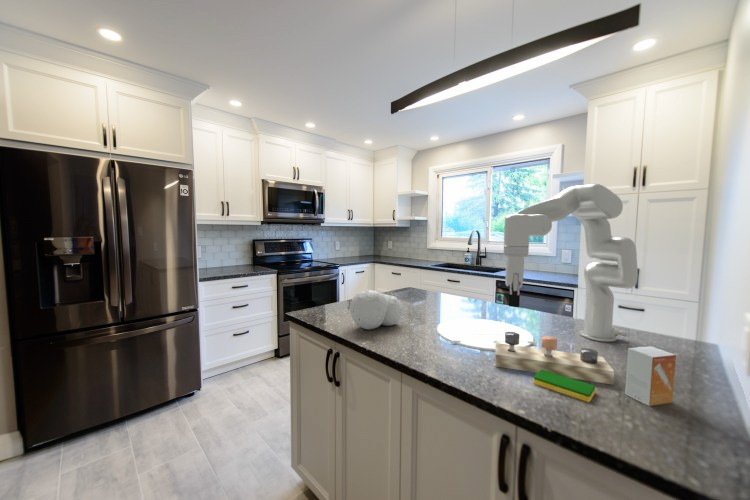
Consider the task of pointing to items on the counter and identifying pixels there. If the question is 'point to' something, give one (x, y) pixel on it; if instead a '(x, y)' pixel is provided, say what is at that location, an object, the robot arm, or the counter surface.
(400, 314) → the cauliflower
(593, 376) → the knob mount
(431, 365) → the counter surface
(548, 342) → the middle knob
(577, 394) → the dish sponge
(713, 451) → the counter surface
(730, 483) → the counter surface
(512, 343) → the far knob
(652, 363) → the small box
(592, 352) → the near knob
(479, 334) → the lazy susan
